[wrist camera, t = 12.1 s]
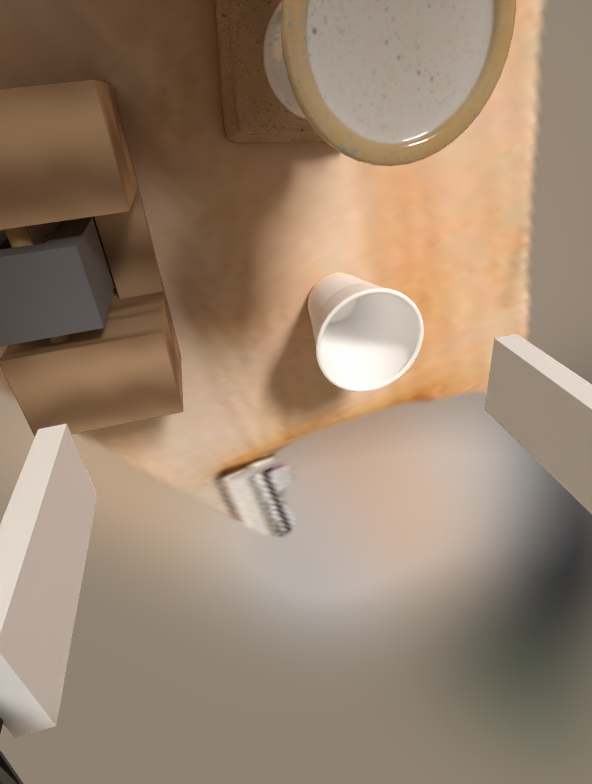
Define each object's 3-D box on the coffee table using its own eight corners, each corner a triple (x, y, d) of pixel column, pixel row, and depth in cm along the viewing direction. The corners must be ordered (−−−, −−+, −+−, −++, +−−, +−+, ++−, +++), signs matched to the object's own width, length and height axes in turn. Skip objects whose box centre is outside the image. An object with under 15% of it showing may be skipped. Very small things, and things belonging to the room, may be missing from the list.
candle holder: (346, 139, 44) (497, 172, 24) (225, 141, 41) (276, 181, 22) (353, -19, 38) (559, -151, 18) (212, -25, 36) (268, -180, 16)
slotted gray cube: (-13, 232, 39) (-57, 266, 31) (92, 217, 40) (76, 245, 32) (17, 303, 42) (-16, 349, 34) (113, 286, 43) (103, 327, 35)
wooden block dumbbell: (-53, 102, 36) (-128, 102, 27) (111, 84, 38) (93, 79, 29) (61, 377, 49) (37, 441, 40) (180, 355, 51) (183, 411, 41)
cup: (318, 358, 54) (349, 411, 45) (271, 290, 49) (294, 334, 40) (393, 309, 53) (440, 352, 44) (353, 233, 48) (397, 264, 39)
